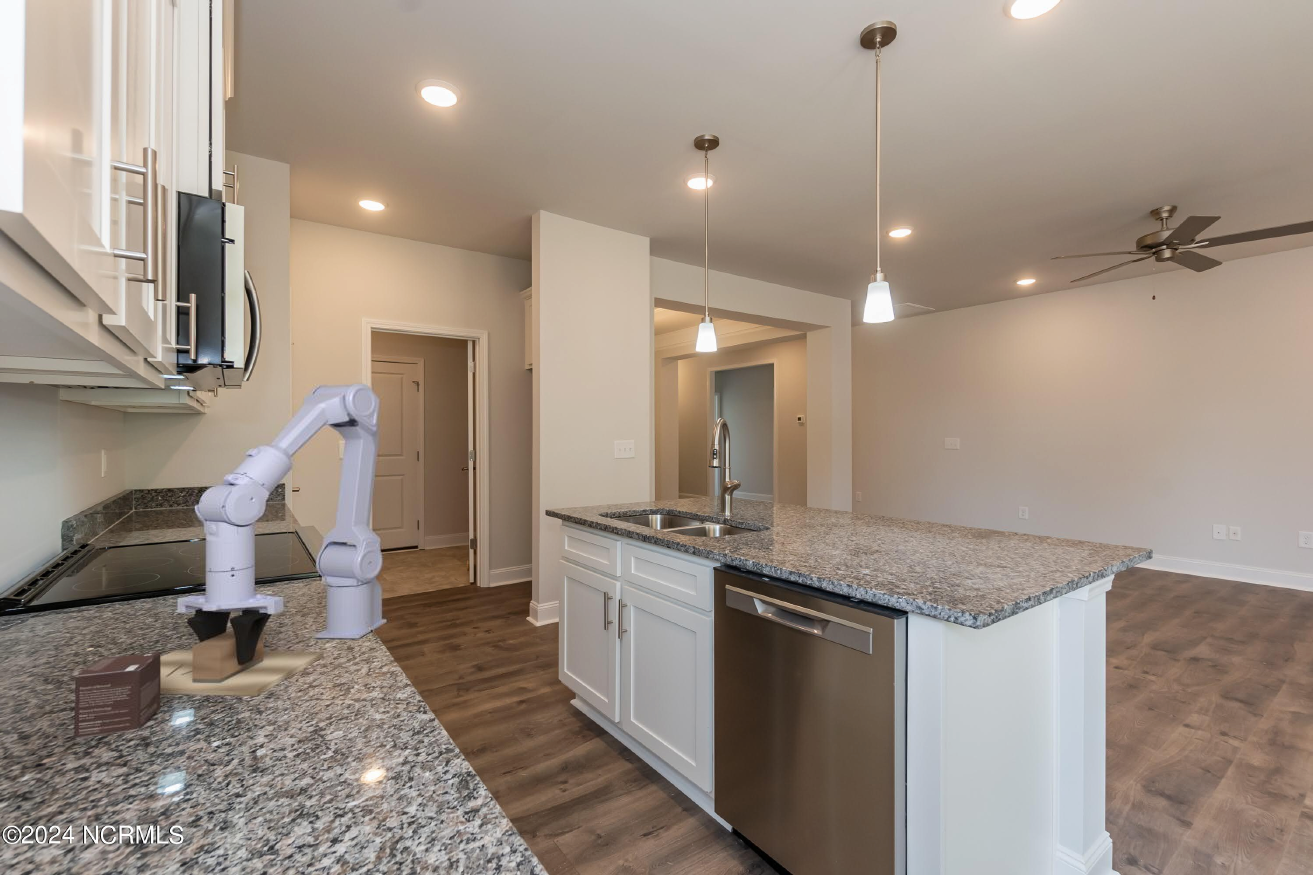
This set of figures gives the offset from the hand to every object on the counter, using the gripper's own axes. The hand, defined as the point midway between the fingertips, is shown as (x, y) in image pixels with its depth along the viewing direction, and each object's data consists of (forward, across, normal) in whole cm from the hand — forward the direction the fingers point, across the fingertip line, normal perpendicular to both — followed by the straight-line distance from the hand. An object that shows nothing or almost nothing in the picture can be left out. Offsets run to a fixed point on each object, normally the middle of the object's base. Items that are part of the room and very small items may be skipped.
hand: (230, 661), depth 83 cm
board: (+2, -3, +1) cm, 4 cm away
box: (+2, -2, -14) cm, 14 cm away
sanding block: (+1, 0, 0) cm, 1 cm away
